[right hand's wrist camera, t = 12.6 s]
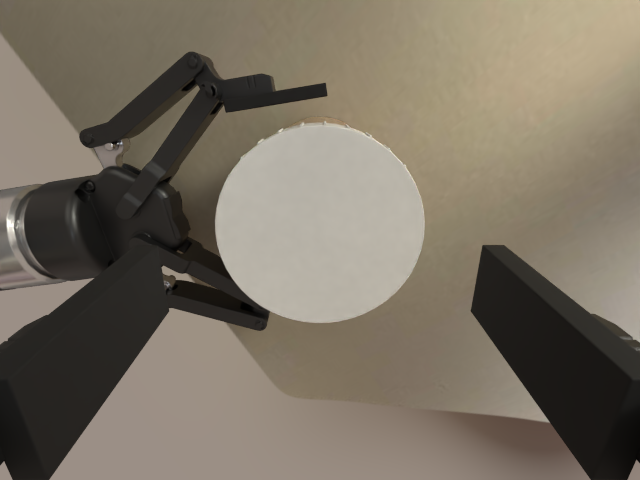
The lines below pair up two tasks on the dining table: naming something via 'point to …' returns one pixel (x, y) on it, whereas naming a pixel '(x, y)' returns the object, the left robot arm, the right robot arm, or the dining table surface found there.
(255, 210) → the lid
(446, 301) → the dining table surface
